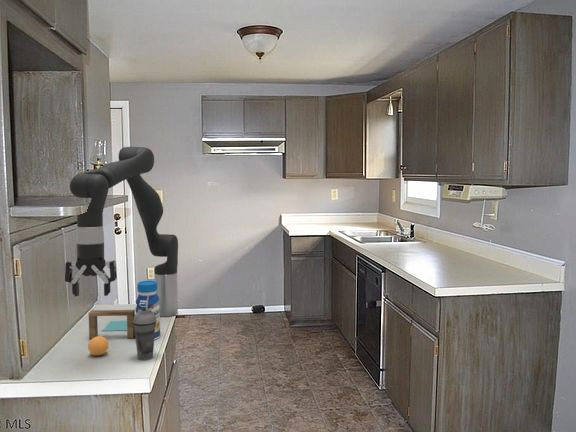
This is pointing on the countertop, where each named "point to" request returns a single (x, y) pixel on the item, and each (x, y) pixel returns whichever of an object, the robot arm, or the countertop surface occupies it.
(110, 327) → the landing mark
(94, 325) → the bridge
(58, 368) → the countertop surface
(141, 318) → the beverage cup
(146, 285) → the beverage bottle
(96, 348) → the ball
